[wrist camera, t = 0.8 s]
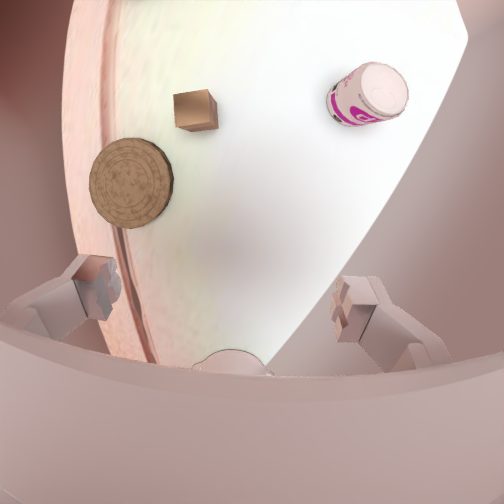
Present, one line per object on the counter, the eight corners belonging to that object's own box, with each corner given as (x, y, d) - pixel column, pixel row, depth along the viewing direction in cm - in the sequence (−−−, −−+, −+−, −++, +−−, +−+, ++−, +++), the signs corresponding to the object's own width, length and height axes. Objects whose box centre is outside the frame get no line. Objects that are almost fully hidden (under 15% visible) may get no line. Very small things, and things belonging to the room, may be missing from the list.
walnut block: (218, 128, 43) (209, 121, 34) (190, 132, 43) (175, 126, 34) (216, 102, 41) (207, 89, 32) (189, 106, 42) (173, 94, 32)
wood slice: (191, 166, 45) (187, 167, 43) (147, 240, 50) (142, 245, 47) (121, 123, 42) (114, 122, 40) (85, 197, 47) (77, 199, 44)
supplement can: (364, 133, 43) (407, 128, 29) (321, 118, 42) (350, 103, 28) (373, 93, 40) (416, 75, 26) (330, 77, 40) (361, 49, 25)
